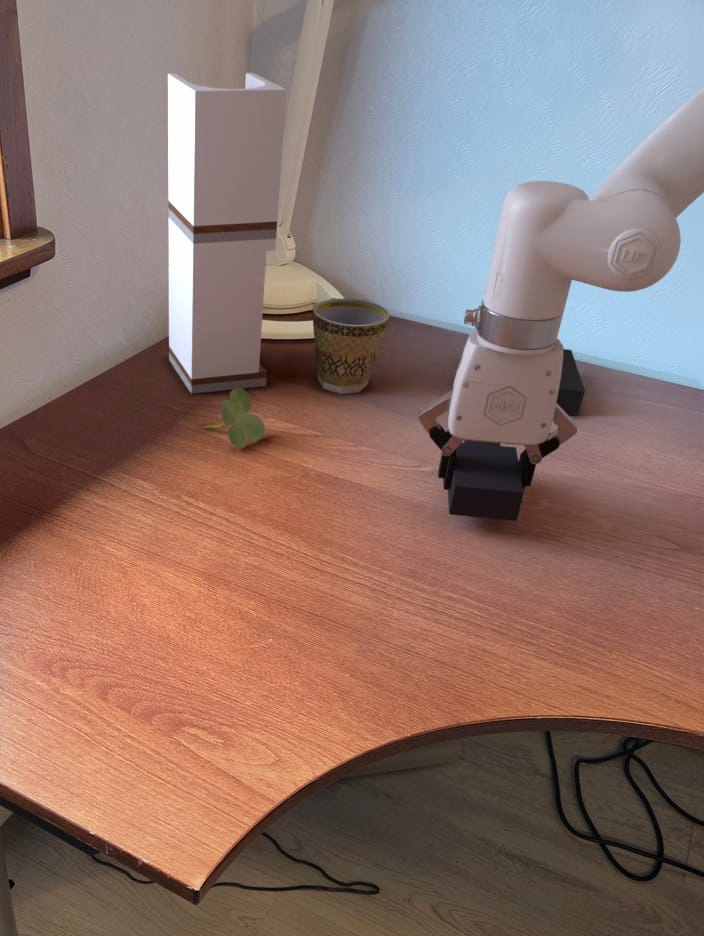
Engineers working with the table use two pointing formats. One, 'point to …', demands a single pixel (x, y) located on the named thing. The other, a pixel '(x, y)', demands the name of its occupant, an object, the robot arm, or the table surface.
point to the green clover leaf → (240, 419)
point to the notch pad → (570, 386)
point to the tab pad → (486, 481)
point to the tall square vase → (221, 227)
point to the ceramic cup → (347, 342)
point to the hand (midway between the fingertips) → (482, 485)
